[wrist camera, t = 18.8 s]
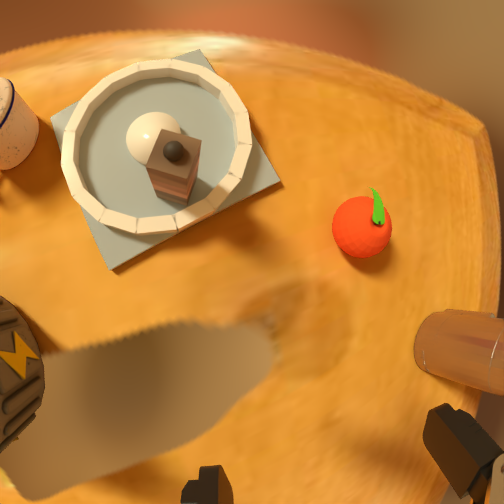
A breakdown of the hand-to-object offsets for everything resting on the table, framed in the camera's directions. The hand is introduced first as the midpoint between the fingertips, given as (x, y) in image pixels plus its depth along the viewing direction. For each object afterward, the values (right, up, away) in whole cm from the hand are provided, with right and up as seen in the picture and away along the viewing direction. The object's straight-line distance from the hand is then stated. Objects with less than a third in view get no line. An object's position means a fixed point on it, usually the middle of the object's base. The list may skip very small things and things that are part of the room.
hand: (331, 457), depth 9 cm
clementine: (+9, +10, +28) cm, 31 cm away
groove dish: (-14, +20, +23) cm, 33 cm away
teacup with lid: (-35, +21, +19) cm, 45 cm away
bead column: (-11, +14, +22) cm, 29 cm away
